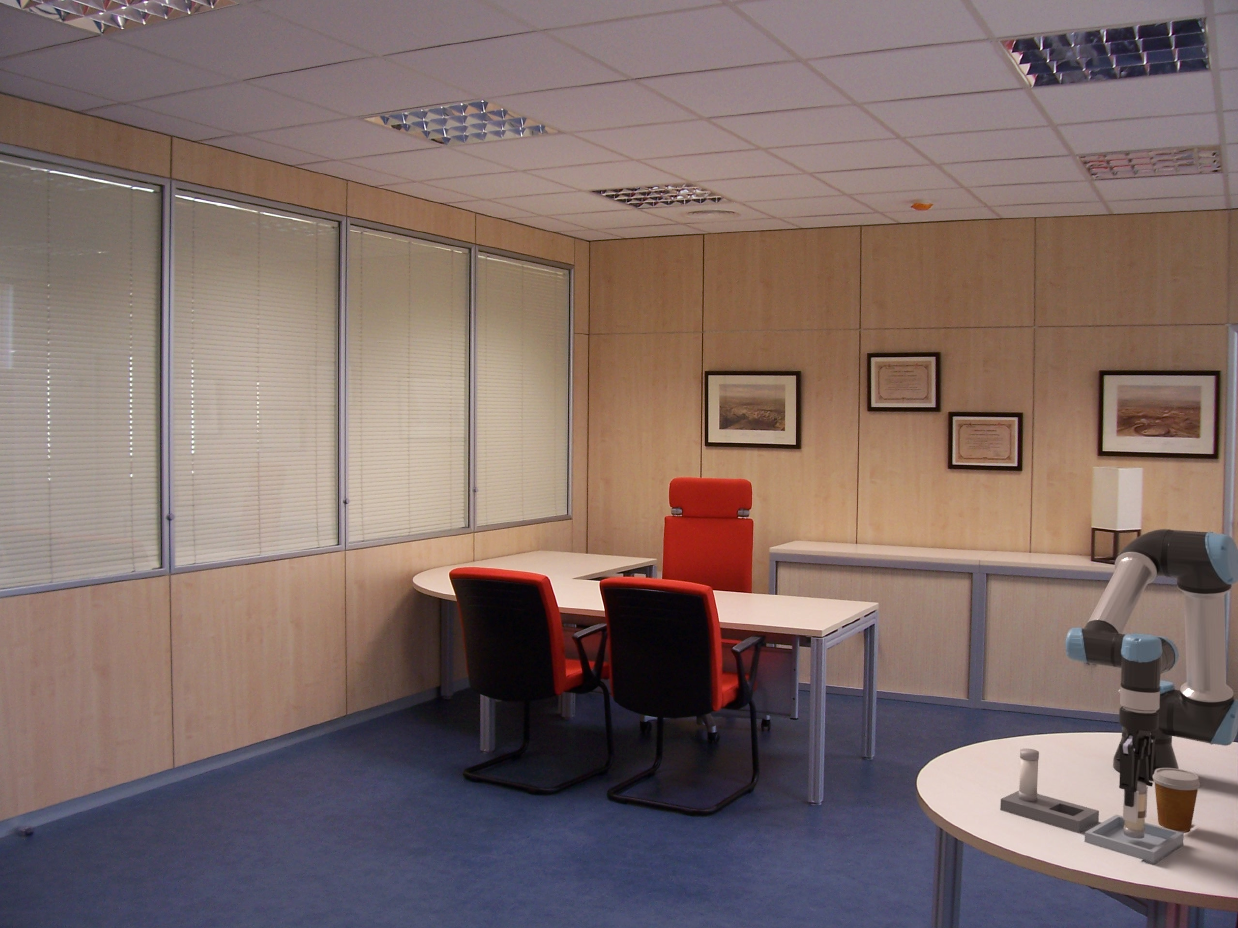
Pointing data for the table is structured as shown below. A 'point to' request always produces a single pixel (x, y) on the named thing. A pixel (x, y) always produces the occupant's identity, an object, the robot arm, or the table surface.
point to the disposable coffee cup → (1175, 797)
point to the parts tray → (1135, 840)
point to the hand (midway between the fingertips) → (1134, 817)
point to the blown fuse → (1138, 828)
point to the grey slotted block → (1045, 800)
